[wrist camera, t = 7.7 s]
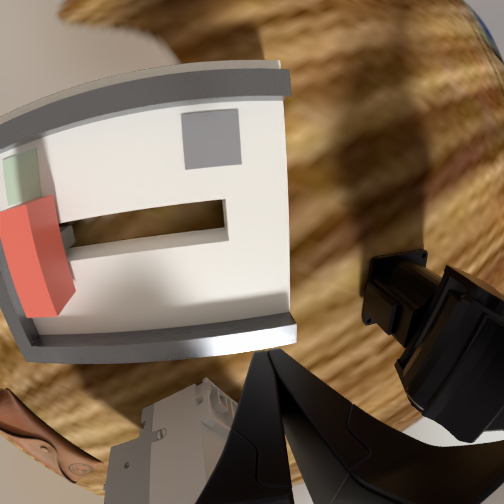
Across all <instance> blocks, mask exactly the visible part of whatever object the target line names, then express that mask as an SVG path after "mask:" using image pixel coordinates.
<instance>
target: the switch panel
mask: <svg viewBox="0 0 504 504" xmlns="http://www.w3.org/2000/svg"><path fill="white" fill-rule="evenodd" d="M243 68H268V69H281V68H280V61H278V60H226V61H208V62H196V63H186V64H178V65H170V66H163V67H157V68H150V69H145V70H139V71H134V72H129V73H124V74H120V75H116V76H111V77H108V78H103V79H100V80H96V81H92V82H89V83H85V84H82V85H79V86H75V87H72V88H70V89H66V90H63V91H60V92H58V93H55V94H52V95H49V96H47V97H44V98H41V99H39V100H36V101H35V102H32V103H29V104H27V105H25V106H22V107H20V108H18V109H16V110H13V111H11V112H9V113H7V114H5V115H3V116H1V117H0V124H2V123H4V122H7V121H9V120H11V119H13V118H15V117H17V116H20V115H22V114H24V113H27V112H29V111H32V110H34V109H37V108H39V107H42V106H44V105H47V104H50V103H53V102H55V101H58V100H61V99H64V98H67V97H70V96H73V95H77V94H80V93H83V92H87V91H90V90H94V89H98V88H102V87H106V86H110V85H114V84H118V83H123V82H127V81H132V80H137V79H143V78H148V77H154V76H161V75H167V74H175V73H183V72H192V71H203V70H218V69H243ZM49 195H53V196H54V202H55V208H56V214H57V219H58V224H59V223H64V222H69V221H74V220H80V219H85V218H91V217H96V216H102V215H108V214H114V213H121V212H127V211H133V210H140V209H147V208H154V207H161V206H169V205H176V204H184V203H193V202H201V201H210V200H219V199H222V203H223V215H224V226H225V227H224V228H215V229H206V230H198V231H189V232H181V233H173V234H165V235H158V236H150V237H142V238H135V239H128V240H121V241H113V242H106V243H100V244H93V245H86V246H80V247H73V248H68V249H67V250H66V251H65V254H66V258H67V262H68V266H69V269H70V273H71V276H72V280H73V283H74V286H75V289H76V292H75V293H74V295H73V296H72V297H71V299H70V300H69V301H68V303H67V304H66V305H65V307H64V308H63V310H62V311H61V313H60V314H59V315H58V317H36V318H32V319H33V322H34V324H35V326H36V329H37V331H38V333H39V335H58V334H90V333H110V332H126V331H139V330H152V329H163V328H173V327H183V326H192V325H201V324H209V323H217V322H225V321H232V320H240V319H247V318H253V317H260V316H267V315H273V314H279V313H285V312H290V257H289V211H288V182H287V159H286V140H285V123H284V108H283V101H238V102H220V103H207V104H197V105H187V106H179V107H171V108H164V109H157V110H151V111H145V112H140V113H134V114H129V115H124V116H119V117H114V118H110V119H106V120H101V121H97V122H93V123H89V124H85V125H82V126H78V127H75V128H71V129H68V130H64V131H61V132H58V133H55V134H52V135H49V136H46V137H43V138H40V139H37V140H34V141H31V142H29V143H26V144H23V145H21V146H18V147H16V148H13V149H11V150H8V151H6V152H4V153H1V154H0V212H1V211H3V210H5V209H8V208H10V207H13V206H15V205H18V204H20V203H23V202H26V201H30V200H33V199H37V198H41V197H45V196H49Z"/></svg>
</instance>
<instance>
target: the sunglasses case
mask: <svg viewBox="0 0 504 504" xmlns="http://www.w3.org/2000/svg"><path fill="white" fill-rule="evenodd" d="M0 430H1V431H2V432H4V433H5V434H6V435H7V436H8V437H9V438H11V439H12V440H13V441H14V442H15V443H16V444H18V445H19V446H20V447H21V448H23V449H24V450H25V451H26V452H28V453H29V454H30V455H32V456H33V457H34V458H36V459H37V460H39V461H40V462H42V463H43V464H45V465H46V466H48V467H49V468H51V469H52V470H54V471H56V472H57V473H59V474H60V475H62V476H63V477H64V478H66V479H67V480H68V481H70V482H72V483H76V482H77V481H78V480H79V479H81V478H82V477H84V476H85V475H86V474H88V473H89V472H91V471H92V470H93V469H95V468H96V467H97V466H98V465H100V464H104V463H103V462H101V461H100V460H98V459H96V458H94V457H92V456H91V455H89V454H87V453H85V452H84V451H82V450H81V449H79V448H78V447H76V446H74V445H73V444H71V443H70V442H69V441H67V440H66V439H65V438H63V437H62V436H60V435H59V434H58V433H57V432H55V431H54V430H53V429H51V428H50V427H49V426H48V425H46V424H45V423H44V422H43V421H42V420H40V419H39V418H38V417H37V416H36V415H35V414H33V413H32V412H31V411H30V410H29V409H28V408H27V407H26V406H25V405H24V404H23V403H22V402H21V401H20V400H19V399H18V398H17V397H16V396H15V395H14V394H13V393H12V392H11V391H10V390H9V389H5V391H3V392H1V393H0Z"/></svg>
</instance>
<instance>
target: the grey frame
mask: <svg viewBox="0 0 504 504" xmlns="http://www.w3.org/2000/svg"><path fill="white" fill-rule="evenodd" d="M289 97H291V84H290V72H289V69H268V68H243V69H218V70H203V71H192V72H183V73H175V74H167V75H161V76H154V77H148V78H143V79H137V80H132V81H127V82H123V83H118V84H114V85H110V86H106V87H102V88H98V89H94V90H90V91H87V92H83V93H80V94H77V95H73V96H70V97H67V98H64V99H61V100H58V101H55V102H53V103H50V104H47V105H44V106H42V107H39V108H37V109H34V110H32V111H29V112H27V113H24V114H22V115H20V116H17V117H15V118H13V119H11V120H9V121H7V122H4V123H2V124H0V154H1V153H4V152H6V151H8V150H11V149H13V148H16V147H18V146H21V145H23V144H26V143H29V142H31V141H34V140H37V139H40V138H43V137H46V136H49V135H52V134H55V133H58V132H61V131H64V130H68V129H71V128H75V127H78V126H82V125H85V124H89V123H93V122H97V121H101V120H106V119H110V118H114V117H119V116H124V115H129V114H134V113H140V112H145V111H151V110H157V109H164V108H171V107H179V106H187V105H197V104H207V103H220V102H238V101H284V100H285V99H287V98H289ZM0 307H1V310H2V312H3V315H4V317H5V319H6V322H7V324H8V326H9V328H10V330H11V332H12V335H13V337H14V339H15V341H16V343H17V345H18V347H19V349H20V351H21V353H22V354H23V356H24V358H25V360H26V362H38V363H60V364H117V363H140V362H156V361H170V360H181V359H191V358H201V357H209V356H217V355H225V354H232V353H239V352H246V351H253V350H259V349H265V348H271V347H276V346H282V345H287V344H292V343H296V331H297V324H296V322H295V320H294V318H293V317H292V315H291V313H290V312H285V313H279V314H273V315H267V316H260V317H253V318H247V319H240V320H232V321H225V322H217V323H209V324H201V325H192V326H183V327H173V328H163V329H152V330H139V331H126V332H110V333H90V334H58V335H39V333H38V331H37V329H36V326H35V324H34V322H33V319H32V318H27V317H26V314H25V312H24V310H23V307H22V304H21V302H20V299H19V297H18V294H17V291H16V288H15V285H14V282H13V279H12V276H11V273H10V270H9V267H8V263H7V260H6V257H5V253H4V249H3V245H2V241H1V237H0Z"/></svg>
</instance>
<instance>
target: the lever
mask: <svg viewBox="0 0 504 504" xmlns="http://www.w3.org/2000/svg"><path fill="white" fill-rule="evenodd" d="M0 237H1V241H2V245H3V249H4V253H5V257H6V260H7V263H8V267H9V270H10V273H11V276H12V279H13V282H14V285H15V288H16V291H17V294H18V297H19V299H20V302H21V304H22V307H23V310H24V312H25V314H26V317H27V318H36V317H58V315H59V314H60V313H61V311H62V310H63V308H64V307H65V305H66V304H67V303H68V301H69V300H70V299H71V297H72V296H73V295H74V293H75V292H76V289H75V286H74V283H73V280H72V276H71V273H70V269H69V266H68V262H67V258H66V254H65V251H66V250H67V249H68V248H69V247H71V246H72V245H73V244H74V243H75V238H74V233H73V228H72V225H69V226H64V227H59V224H58V219H57V214H56V208H55V202H54V196H53V195H49V196H45V197H41V198H37V199H33V200H30V201H26V202H23V203H20V204H18V205H15V206H13V207H10V208H8V209H5V210H3V211H1V212H0Z"/></svg>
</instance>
